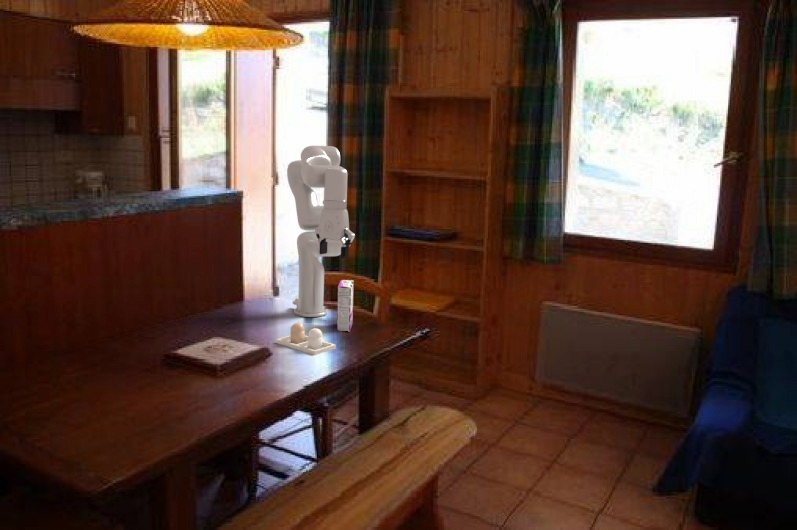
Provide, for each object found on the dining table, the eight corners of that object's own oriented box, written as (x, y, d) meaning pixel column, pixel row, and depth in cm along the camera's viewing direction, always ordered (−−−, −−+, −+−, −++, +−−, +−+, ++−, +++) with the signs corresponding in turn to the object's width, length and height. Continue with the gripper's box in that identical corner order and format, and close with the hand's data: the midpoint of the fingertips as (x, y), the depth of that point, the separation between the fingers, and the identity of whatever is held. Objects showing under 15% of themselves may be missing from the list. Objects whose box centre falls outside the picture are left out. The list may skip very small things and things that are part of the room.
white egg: (304, 349, 231) (305, 328, 230) (314, 346, 235) (315, 325, 233) (314, 352, 228) (315, 331, 227) (325, 349, 232) (325, 328, 231)
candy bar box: (339, 323, 264) (340, 279, 261) (352, 323, 264) (354, 280, 261) (335, 331, 253) (337, 286, 250) (350, 332, 253) (351, 287, 250)
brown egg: (290, 345, 234) (290, 324, 233) (290, 341, 238) (291, 321, 237) (304, 345, 234) (304, 324, 233) (304, 341, 239) (305, 321, 238)
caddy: (276, 345, 235) (276, 339, 235) (297, 339, 243) (297, 333, 243) (314, 357, 225) (315, 351, 225) (335, 350, 232) (335, 344, 232)
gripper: (308, 203, 241) (307, 253, 244) (347, 209, 231) (345, 261, 234) (324, 201, 247) (322, 250, 250) (362, 207, 237) (360, 258, 240)
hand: (333, 255), depth 242 cm, fingers open, 9 cm apart
